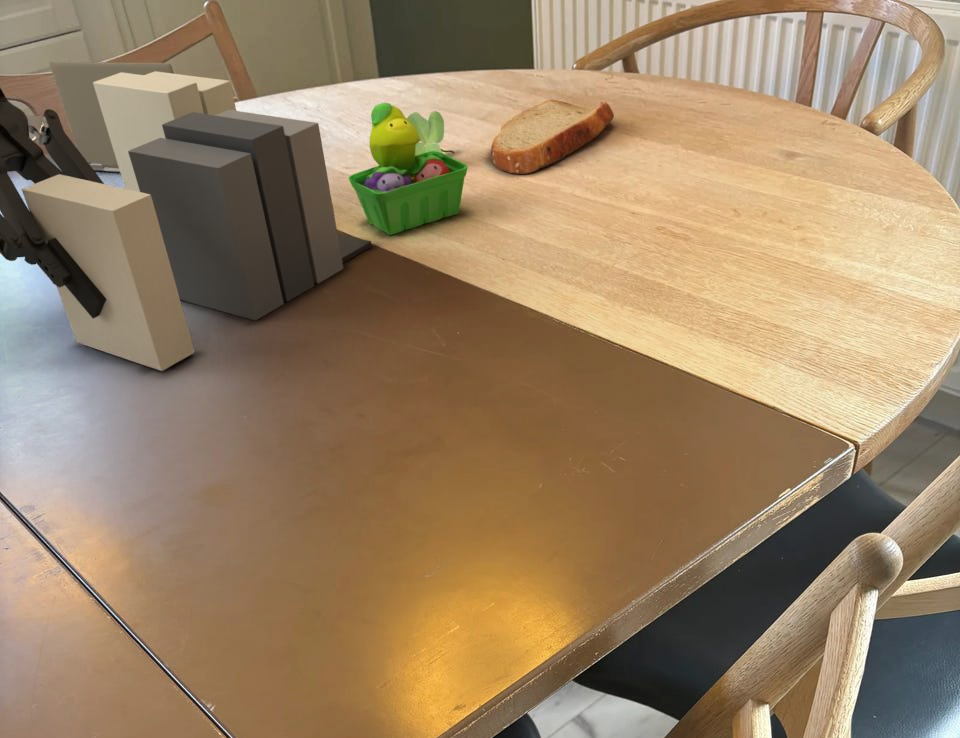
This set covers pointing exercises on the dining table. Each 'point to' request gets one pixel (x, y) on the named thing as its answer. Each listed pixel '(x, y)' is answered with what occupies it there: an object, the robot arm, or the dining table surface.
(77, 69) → the laptop
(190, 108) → the white books
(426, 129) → the seedling
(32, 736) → the dining table surface
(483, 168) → the dining table surface
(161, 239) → the white book
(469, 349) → the dining table surface
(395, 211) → the fruit basket
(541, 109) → the bread slice
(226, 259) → the grey books
